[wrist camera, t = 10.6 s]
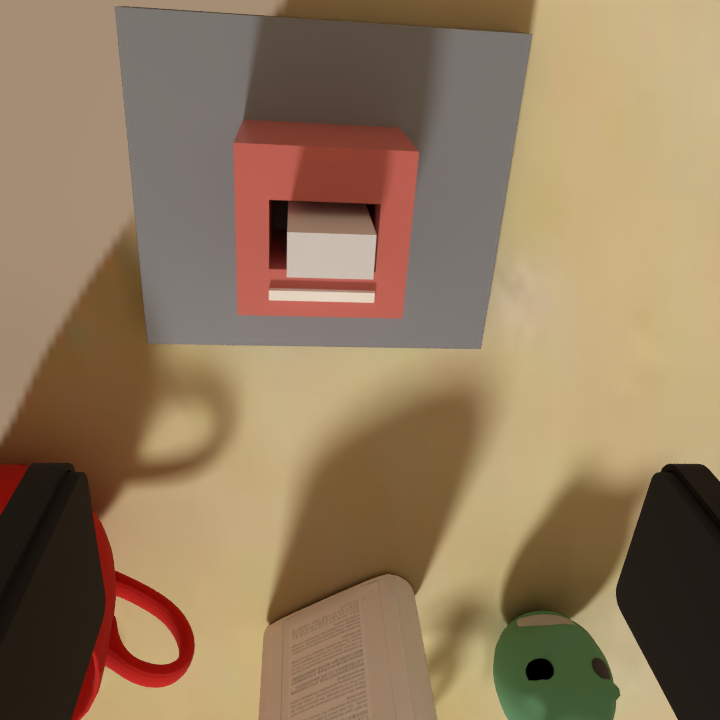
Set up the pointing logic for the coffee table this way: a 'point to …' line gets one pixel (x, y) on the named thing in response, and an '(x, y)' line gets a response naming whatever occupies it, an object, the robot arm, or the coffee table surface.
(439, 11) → the coffee table surface
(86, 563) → the robot arm
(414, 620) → the photo printer
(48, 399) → the coffee table surface
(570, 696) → the alien toy
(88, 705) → the ceramic cup
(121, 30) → the base
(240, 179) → the red cubby box
